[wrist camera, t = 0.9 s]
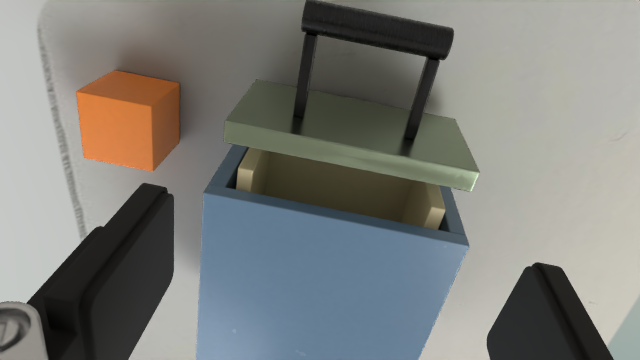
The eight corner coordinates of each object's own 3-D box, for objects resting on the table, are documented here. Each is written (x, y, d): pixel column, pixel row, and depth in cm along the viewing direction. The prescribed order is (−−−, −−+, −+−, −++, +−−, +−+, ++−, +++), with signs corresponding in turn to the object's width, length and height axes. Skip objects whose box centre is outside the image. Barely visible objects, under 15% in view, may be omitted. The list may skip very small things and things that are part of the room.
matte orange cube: (114, 69, 28) (75, 90, 25) (180, 82, 28) (151, 106, 25) (118, 130, 31) (83, 158, 27) (179, 142, 31) (153, 172, 27)
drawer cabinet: (245, 125, 30) (203, 192, 22) (443, 165, 30) (470, 245, 22) (229, 291, 37) (194, 383, 30) (386, 322, 38) (390, 422, 30)
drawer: (266, -22, 24) (232, -7, 18) (489, 23, 24) (530, 53, 18) (237, 257, 34) (210, 326, 28) (394, 288, 34) (400, 363, 28)
